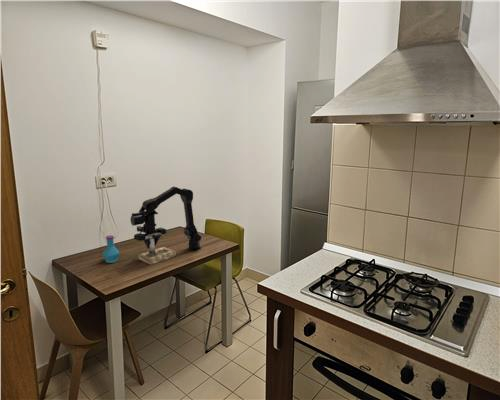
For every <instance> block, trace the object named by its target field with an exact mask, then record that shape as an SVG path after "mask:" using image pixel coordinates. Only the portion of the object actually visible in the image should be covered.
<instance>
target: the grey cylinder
mask: <svg viewBox="0 0 500 400" xmlns="http://www.w3.org/2000/svg"><path fill="white" fill-rule="evenodd" d="M148 238H149V239H150V245H149V249H147V252H148V253H149V254H154V253H155V249H156V246H155V238H154V237H153V236H148Z"/></svg>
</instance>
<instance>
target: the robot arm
mask: <svg viewBox="0 0 500 400" xmlns="http://www.w3.org/2000/svg"><path fill="white" fill-rule="evenodd" d="M175 195H179V196H180V199H181V202H182V203H183V210H184V215H185V216H184V217H185V223H186V225H185V227H183V234H184V235H185V237H186V238H187V239H188V247H187V249H188V250H190V251H193V252H194V251H197V250H199V249H202V247H201V246H200V241H201V240H202V236H201V235H200V234H198V233H199V232H198V229H197V227H196V226H195V222H194V221H195V220H194V214H193V205H192V203H193V200H194V192H193V190H191V189H188V188H179V187H176V186H171V187H170V188H169V189H167V190H165V191H164V192H162V193H160V194H159V195H157V196H156V197H153V198H149V199H147V200H144V201H143V202H142V205H141V207H140V209H139V211H138V212H135V213H134V212H132V213H131V216H130V218H129V219H130V224H131V225H132V226H133V227H134V226H136V231H137V232H139V233H135V234H134V236H133V239H134V240H136V241H138V242H140V241H143V242H144V244H145V246H146V248H147V250H148V249H149V245H150V239H149V237H154V238H155V247H156V246H157V244H158V242H159V240H160V238H161V237H162V235H166V234H167V230H166V228H164V227H158V228H156V226H157V223H156V218H155V216H156V215H158V214H159V213H158V212H157V210H156V209H158V207H159V206H160V205H161V204H162V203H164V202H166V201H167V200H169V199H170V198H172V197H175ZM142 225H143V226H142Z"/></svg>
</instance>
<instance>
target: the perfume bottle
mask: <svg viewBox="0 0 500 400" xmlns="http://www.w3.org/2000/svg"><path fill="white" fill-rule="evenodd" d="M114 237H115V236H114V235H111V234H110V235H107V236H105V239H106V248H105V249H104V250H103V253H102V256H103V257H102V258H103V259H104V261H105V263H115V262H117V261H118V260H119V256H120V250H119V249H117V247H116V246H115V244H114Z"/></svg>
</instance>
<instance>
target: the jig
mask: <svg viewBox="0 0 500 400" xmlns="http://www.w3.org/2000/svg"><path fill="white" fill-rule="evenodd" d="M176 255H177V254H176V251H175V250H173V249H171V248H168V247H165V246H162V247H158V248H155V253H154V254H149V253H148V251H146V252H143V253H139V254H138V260H139V261H141V262H144V263H147V264H149V265H154V264H156V263H159V262H162V261H166V260H168V259H171V258H174V257H176Z"/></svg>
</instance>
